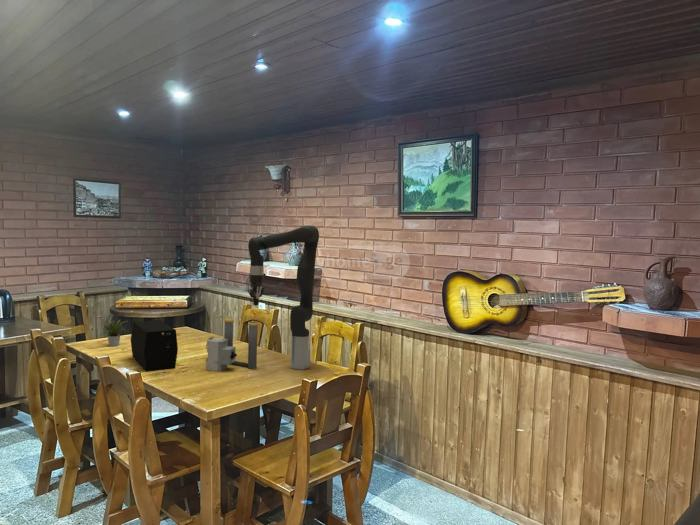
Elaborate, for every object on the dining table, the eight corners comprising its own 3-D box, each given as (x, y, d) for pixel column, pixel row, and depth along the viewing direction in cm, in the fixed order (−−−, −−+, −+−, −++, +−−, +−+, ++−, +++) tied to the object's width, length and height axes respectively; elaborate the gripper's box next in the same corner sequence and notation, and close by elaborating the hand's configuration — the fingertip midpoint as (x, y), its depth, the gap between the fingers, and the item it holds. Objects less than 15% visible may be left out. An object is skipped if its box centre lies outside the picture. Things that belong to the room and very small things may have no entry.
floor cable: (249, 366, 262) (249, 362, 262) (247, 367, 260) (247, 363, 260) (232, 363, 267) (233, 360, 267) (230, 364, 265) (230, 360, 265)
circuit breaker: (231, 372, 250) (232, 342, 250) (205, 369, 253) (206, 340, 253) (238, 368, 258) (238, 339, 257) (212, 366, 261) (213, 337, 260)
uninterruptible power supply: (161, 354, 281) (162, 319, 280) (178, 369, 253) (179, 330, 252) (130, 358, 272) (130, 321, 271) (144, 373, 244) (144, 332, 243)
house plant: (127, 342, 309) (127, 316, 308) (130, 346, 297) (130, 319, 296) (101, 343, 302) (102, 317, 301) (103, 348, 290) (104, 321, 289)
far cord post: (235, 363, 268) (236, 318, 267) (228, 365, 264) (229, 320, 262) (227, 361, 271) (228, 317, 269) (221, 363, 266) (222, 319, 265)
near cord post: (259, 367, 261) (260, 322, 260) (253, 369, 257) (254, 323, 255) (251, 366, 264) (252, 321, 262) (245, 368, 259) (246, 322, 258)
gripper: (254, 275, 265) (254, 307, 266) (269, 273, 277) (268, 304, 277) (243, 274, 268) (242, 306, 269) (258, 272, 280) (257, 303, 281)
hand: (255, 305), depth 273 cm, fingers closed
